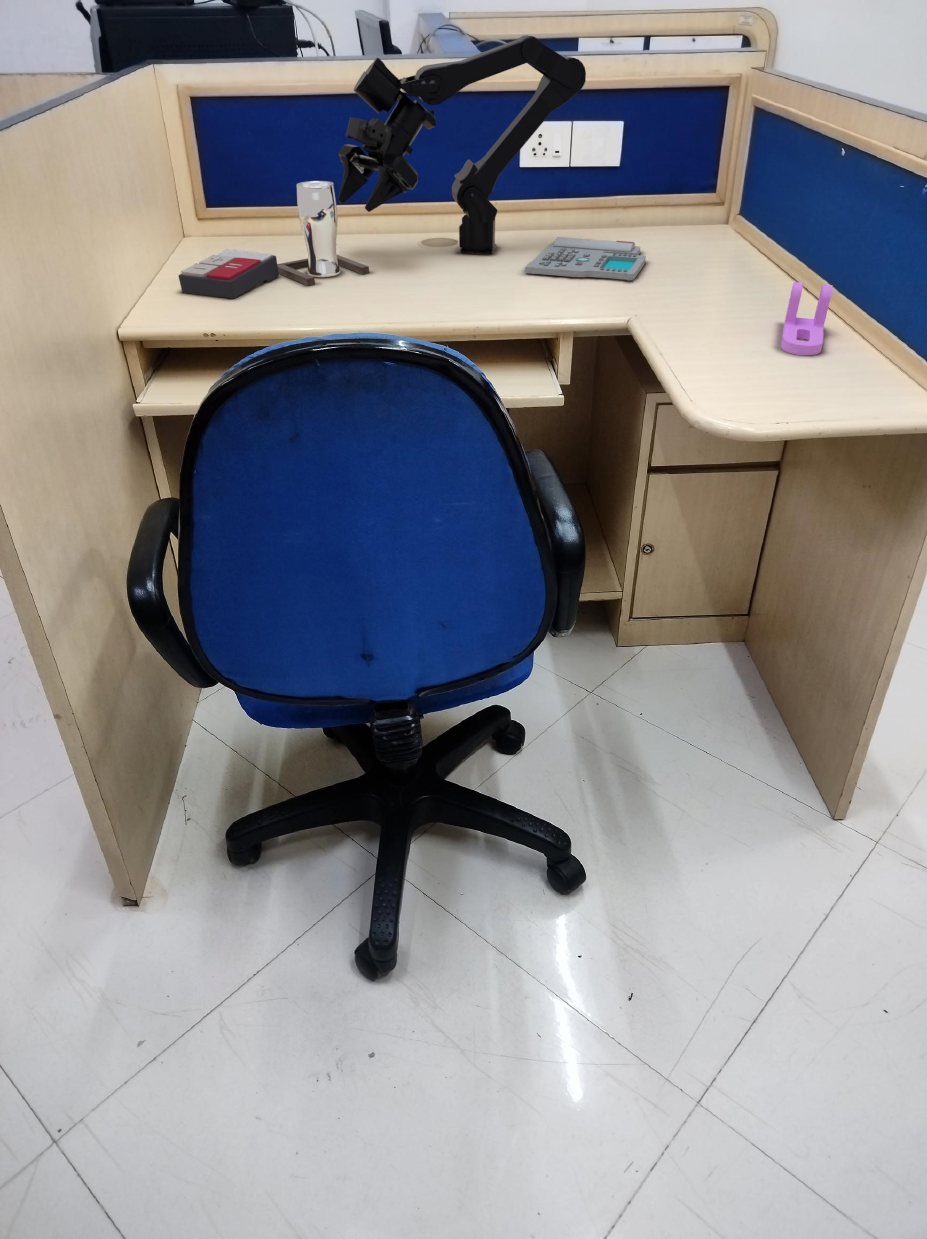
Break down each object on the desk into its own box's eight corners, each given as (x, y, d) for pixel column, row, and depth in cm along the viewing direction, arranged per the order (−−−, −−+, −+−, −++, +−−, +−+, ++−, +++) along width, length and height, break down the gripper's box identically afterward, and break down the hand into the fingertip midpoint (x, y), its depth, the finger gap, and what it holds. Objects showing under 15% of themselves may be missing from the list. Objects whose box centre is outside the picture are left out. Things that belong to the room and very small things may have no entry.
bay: (369, 272, 158) (369, 266, 157) (307, 285, 151) (306, 278, 150) (334, 259, 165) (333, 253, 165) (274, 271, 159) (273, 264, 158)
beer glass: (347, 269, 160) (339, 181, 151) (336, 278, 154) (328, 187, 145) (311, 267, 161) (302, 180, 152) (300, 277, 155) (289, 186, 146)
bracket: (783, 325, 132) (793, 279, 128) (821, 328, 131) (832, 282, 127) (780, 352, 123) (791, 303, 118) (820, 357, 121) (833, 307, 117)
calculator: (175, 270, 146) (225, 245, 156) (181, 296, 148) (229, 269, 159) (229, 277, 142) (276, 250, 153) (234, 302, 145) (280, 275, 156)
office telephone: (555, 232, 172) (653, 239, 167) (554, 245, 174) (652, 253, 169) (525, 258, 155) (634, 267, 149) (524, 273, 156) (632, 283, 151)
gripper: (342, 93, 154) (297, 168, 155) (401, 102, 143) (351, 182, 144) (381, 138, 163) (337, 208, 164) (439, 150, 151) (392, 225, 152)
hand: (353, 205), depth 156 cm, fingers open, 9 cm apart
